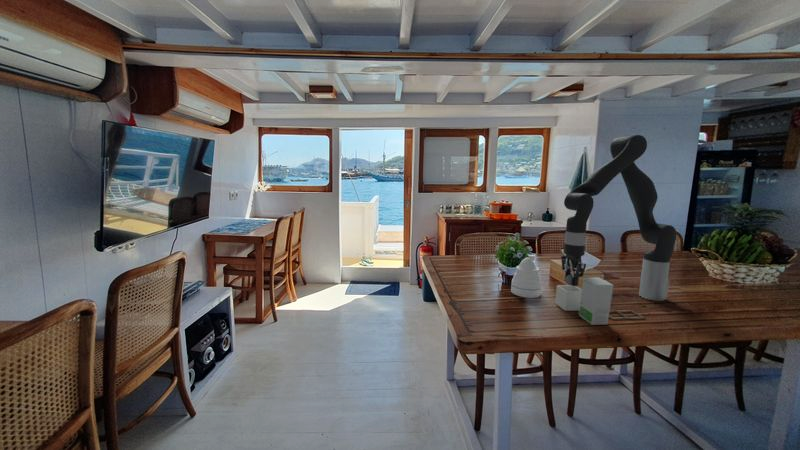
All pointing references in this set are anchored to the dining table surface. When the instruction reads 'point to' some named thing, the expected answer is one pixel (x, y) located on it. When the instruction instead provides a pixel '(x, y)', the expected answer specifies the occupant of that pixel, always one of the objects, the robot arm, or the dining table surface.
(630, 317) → the rack
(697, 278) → the dining table surface
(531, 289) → the honey pot
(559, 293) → the open square cup
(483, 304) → the dining table surface
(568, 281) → the ball slate
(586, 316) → the skincare box
